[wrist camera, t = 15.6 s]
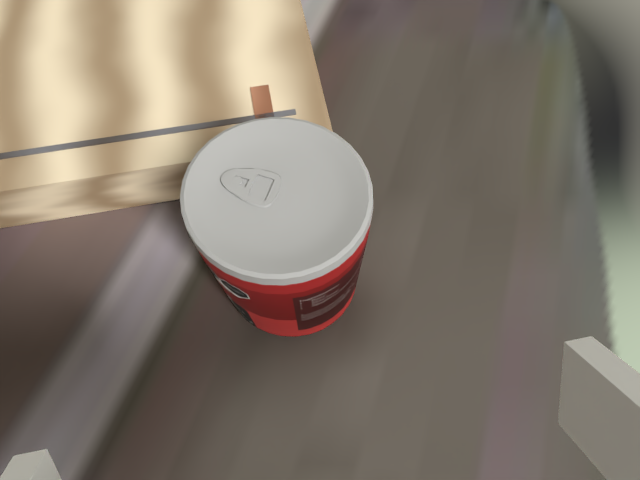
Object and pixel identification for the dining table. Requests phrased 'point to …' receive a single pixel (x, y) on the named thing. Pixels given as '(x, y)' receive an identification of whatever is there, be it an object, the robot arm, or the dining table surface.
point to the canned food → (280, 220)
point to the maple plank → (137, 94)
